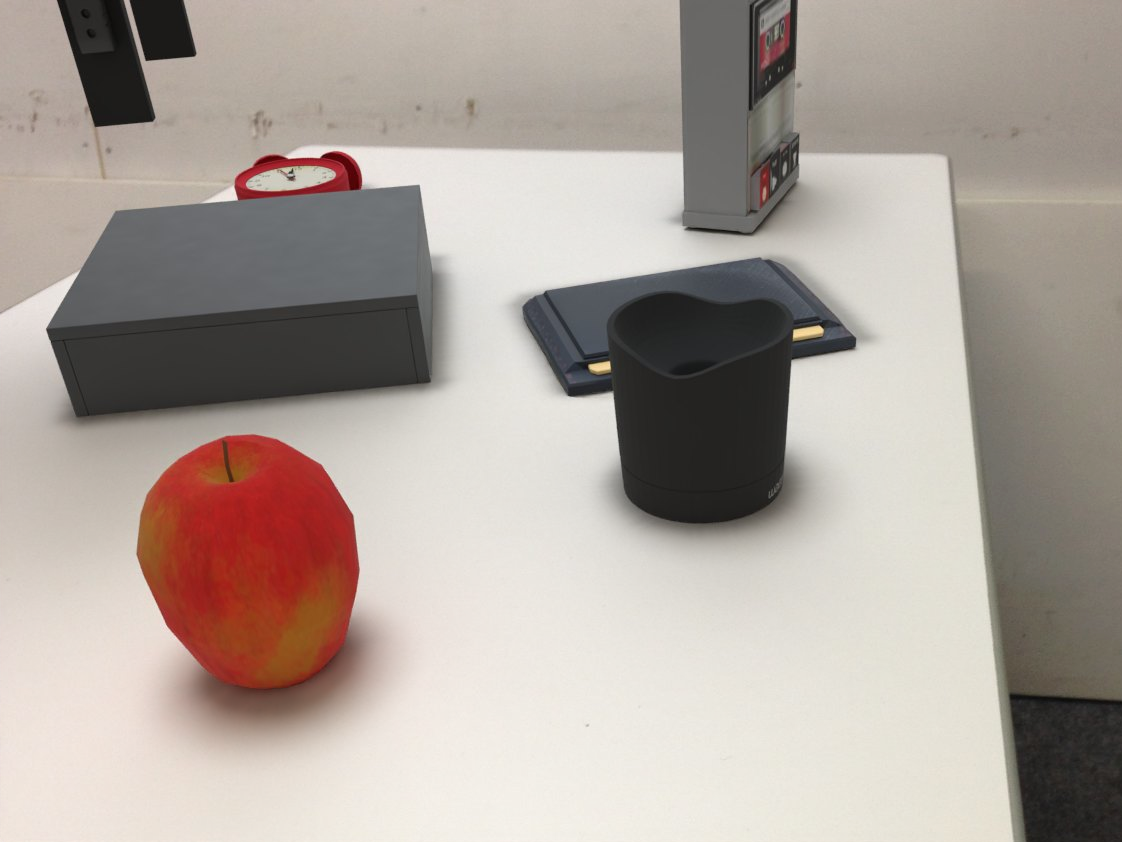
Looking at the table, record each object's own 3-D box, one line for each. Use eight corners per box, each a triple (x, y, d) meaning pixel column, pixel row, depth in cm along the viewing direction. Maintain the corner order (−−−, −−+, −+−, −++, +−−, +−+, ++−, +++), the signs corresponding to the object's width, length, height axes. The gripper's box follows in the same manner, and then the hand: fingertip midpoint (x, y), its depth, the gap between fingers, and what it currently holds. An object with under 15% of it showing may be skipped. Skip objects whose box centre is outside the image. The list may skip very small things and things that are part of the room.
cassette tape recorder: (755, 236, 101) (759, -130, 86) (682, 229, 103) (674, -130, 88) (801, 180, 111) (812, -156, 96) (734, 175, 113) (735, -155, 98)
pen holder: (678, 559, 65) (673, 380, 59) (586, 484, 72) (572, 315, 66) (824, 502, 69) (832, 328, 63) (723, 435, 76) (722, 271, 69)
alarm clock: (210, 208, 101) (240, 112, 111) (232, 276, 106) (260, 178, 116) (341, 201, 101) (360, 106, 111) (358, 269, 106) (375, 172, 116)
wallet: (782, 244, 94) (862, 324, 82) (782, 269, 95) (860, 351, 84) (515, 282, 91) (559, 371, 79) (518, 307, 92) (561, 399, 80)
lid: (78, 425, 80) (45, 328, 76) (140, 295, 97) (115, 210, 93) (432, 390, 82) (416, 294, 78) (432, 268, 98) (419, 184, 94)
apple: (205, 618, 63) (136, 396, 56) (389, 603, 63) (343, 381, 56) (163, 744, 56) (77, 507, 48) (371, 727, 56) (316, 489, 49)
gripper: (21, -490, 44) (187, 148, 56) (148, -433, 64) (250, 30, 76) (-206, -476, 43) (13, 165, 56) (-7, -423, 63) (122, 41, 76)
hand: (150, 88), depth 66 cm, fingers open, 13 cm apart
